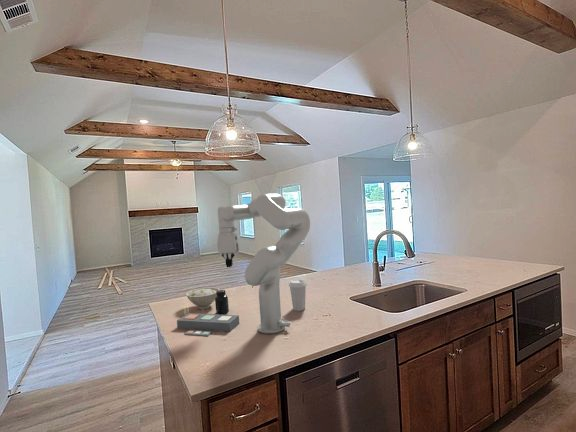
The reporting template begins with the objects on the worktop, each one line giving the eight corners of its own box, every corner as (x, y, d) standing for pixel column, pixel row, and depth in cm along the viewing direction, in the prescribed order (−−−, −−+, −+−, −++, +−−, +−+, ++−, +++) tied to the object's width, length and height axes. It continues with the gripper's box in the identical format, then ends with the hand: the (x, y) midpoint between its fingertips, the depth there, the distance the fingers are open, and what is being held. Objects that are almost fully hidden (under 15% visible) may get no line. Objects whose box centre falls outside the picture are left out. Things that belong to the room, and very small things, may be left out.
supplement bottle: (223, 309, 178) (221, 288, 177) (231, 312, 173) (230, 290, 173) (213, 313, 172) (211, 291, 172) (221, 316, 168) (219, 293, 167)
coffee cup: (306, 311, 166) (305, 283, 166) (288, 311, 168) (286, 283, 168) (309, 305, 176) (307, 278, 175) (292, 305, 178) (290, 279, 177)
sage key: (215, 321, 157) (215, 315, 156) (210, 325, 152) (209, 319, 151) (206, 321, 158) (206, 315, 158) (200, 325, 153) (200, 318, 153)
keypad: (239, 323, 156) (238, 315, 156) (230, 331, 146) (229, 323, 146) (189, 320, 164) (188, 313, 163) (177, 328, 154) (176, 320, 154)
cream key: (232, 322, 154) (232, 316, 154) (227, 326, 149) (227, 320, 149) (222, 321, 155) (222, 315, 155) (217, 326, 151) (217, 319, 150)
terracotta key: (199, 320, 159) (199, 314, 159) (193, 324, 154) (193, 318, 154) (190, 320, 161) (190, 314, 160) (184, 324, 156) (184, 318, 155)
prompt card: (212, 332, 146) (212, 331, 146) (207, 336, 143) (207, 334, 143) (189, 331, 150) (189, 329, 150) (184, 334, 146) (184, 333, 146)
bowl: (179, 310, 181) (178, 293, 180) (203, 300, 198) (202, 284, 197) (205, 314, 172) (204, 296, 171) (228, 303, 189) (226, 286, 188)
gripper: (243, 229, 162) (246, 265, 163) (216, 230, 166) (219, 265, 167) (237, 230, 155) (240, 268, 156) (209, 232, 159) (212, 268, 160)
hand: (229, 266), depth 162 cm, fingers closed
